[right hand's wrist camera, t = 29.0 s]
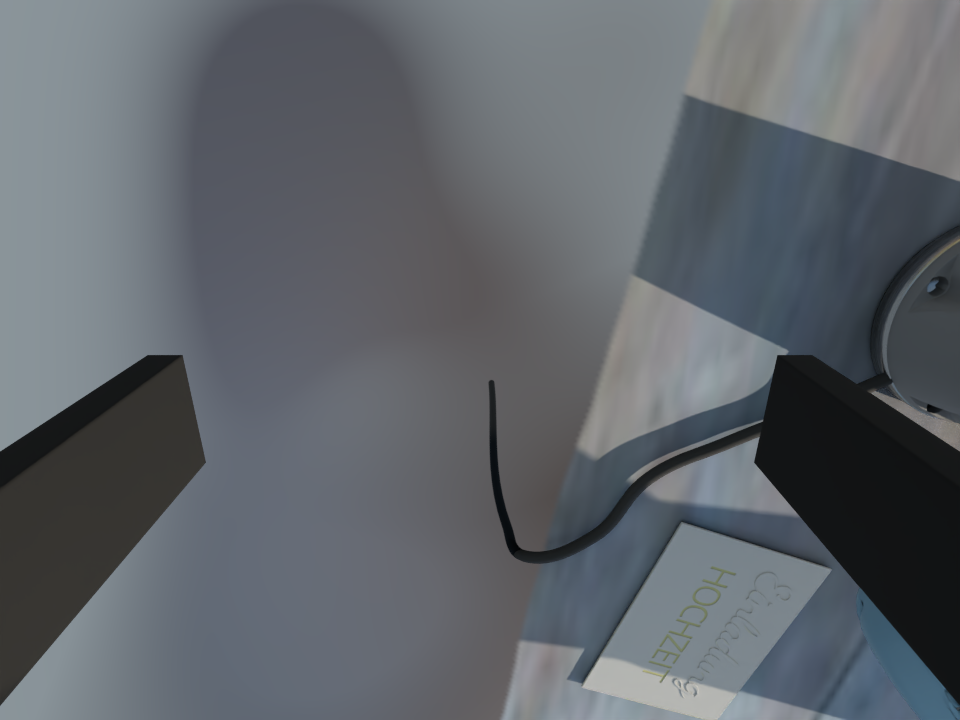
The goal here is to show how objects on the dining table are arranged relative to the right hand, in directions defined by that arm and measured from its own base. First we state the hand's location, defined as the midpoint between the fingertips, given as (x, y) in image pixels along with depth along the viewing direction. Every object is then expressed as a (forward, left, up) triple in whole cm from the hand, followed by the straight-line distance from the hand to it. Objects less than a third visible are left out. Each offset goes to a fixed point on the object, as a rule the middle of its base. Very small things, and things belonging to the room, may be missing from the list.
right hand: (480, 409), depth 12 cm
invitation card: (+9, -42, -28) cm, 51 cm away
